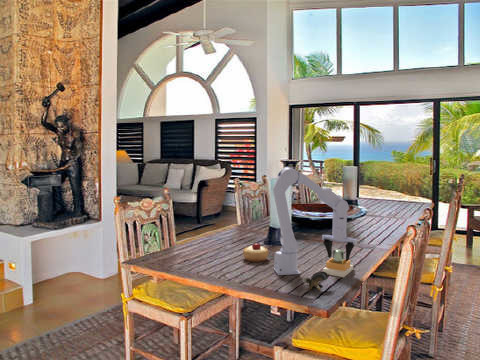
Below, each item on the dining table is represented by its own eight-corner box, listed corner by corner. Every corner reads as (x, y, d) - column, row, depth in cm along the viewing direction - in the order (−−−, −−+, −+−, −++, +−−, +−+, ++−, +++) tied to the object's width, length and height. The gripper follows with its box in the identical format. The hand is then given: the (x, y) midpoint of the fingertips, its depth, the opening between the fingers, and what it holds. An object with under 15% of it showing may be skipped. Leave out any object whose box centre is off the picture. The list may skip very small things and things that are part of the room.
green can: (335, 268, 168) (335, 252, 167) (331, 265, 172) (331, 249, 172) (345, 268, 169) (345, 251, 168) (341, 265, 173) (341, 249, 172)
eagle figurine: (323, 292, 145) (332, 280, 152) (312, 275, 146) (322, 264, 153) (307, 298, 150) (317, 286, 157) (297, 281, 150) (307, 271, 157)
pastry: (266, 264, 181) (266, 245, 180) (240, 262, 184) (240, 243, 182) (269, 256, 193) (270, 238, 192) (245, 254, 195) (245, 236, 194)
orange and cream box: (343, 277, 164) (344, 266, 163) (322, 273, 168) (323, 262, 168) (353, 269, 174) (353, 259, 173) (332, 265, 178) (333, 255, 178)
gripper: (359, 227, 168) (358, 259, 170) (326, 223, 176) (325, 253, 178) (354, 230, 163) (353, 263, 164) (320, 226, 170) (319, 257, 172)
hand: (338, 258), depth 170 cm, fingers open, 7 cm apart
